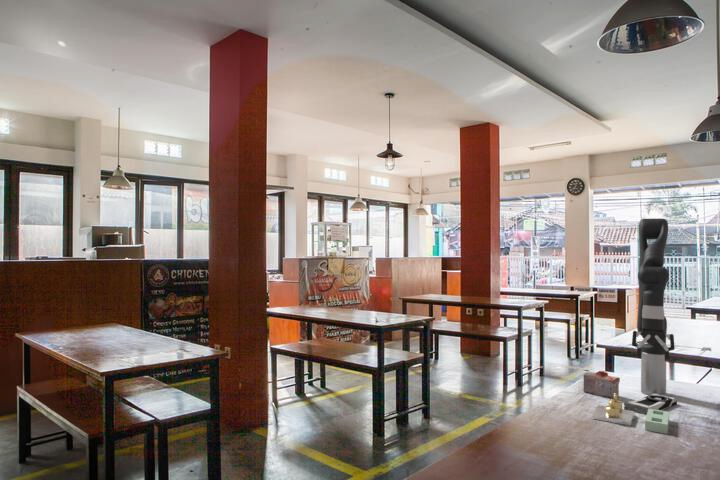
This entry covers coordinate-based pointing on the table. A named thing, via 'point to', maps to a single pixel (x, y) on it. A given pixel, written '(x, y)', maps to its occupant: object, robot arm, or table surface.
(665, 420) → the board
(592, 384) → the food item
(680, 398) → the table surface
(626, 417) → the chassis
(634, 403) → the graphics card
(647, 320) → the robot arm
